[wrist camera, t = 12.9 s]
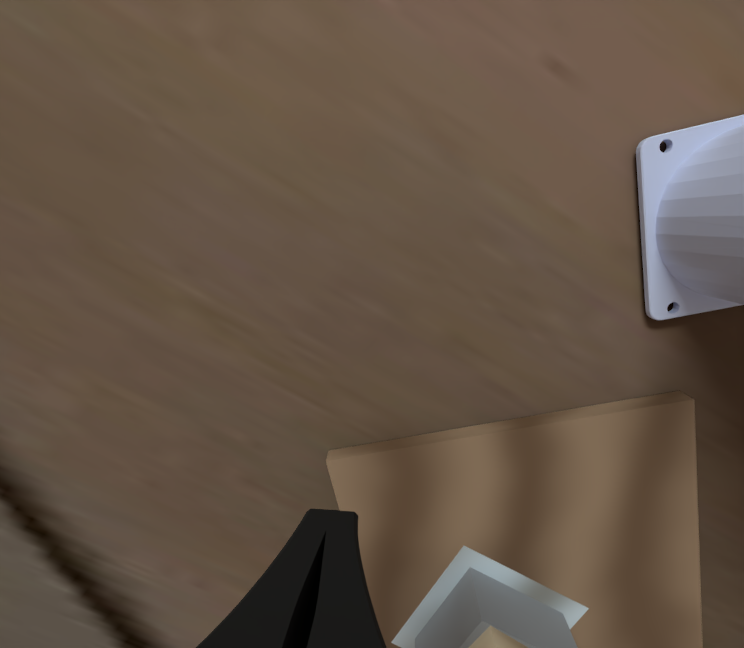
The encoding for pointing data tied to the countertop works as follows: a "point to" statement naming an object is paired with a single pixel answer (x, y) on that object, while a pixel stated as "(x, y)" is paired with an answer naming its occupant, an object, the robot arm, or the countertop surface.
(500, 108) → the countertop surface
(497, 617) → the grey base block
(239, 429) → the countertop surface
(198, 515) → the countertop surface
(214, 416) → the countertop surface
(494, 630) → the maple cube
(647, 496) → the board
